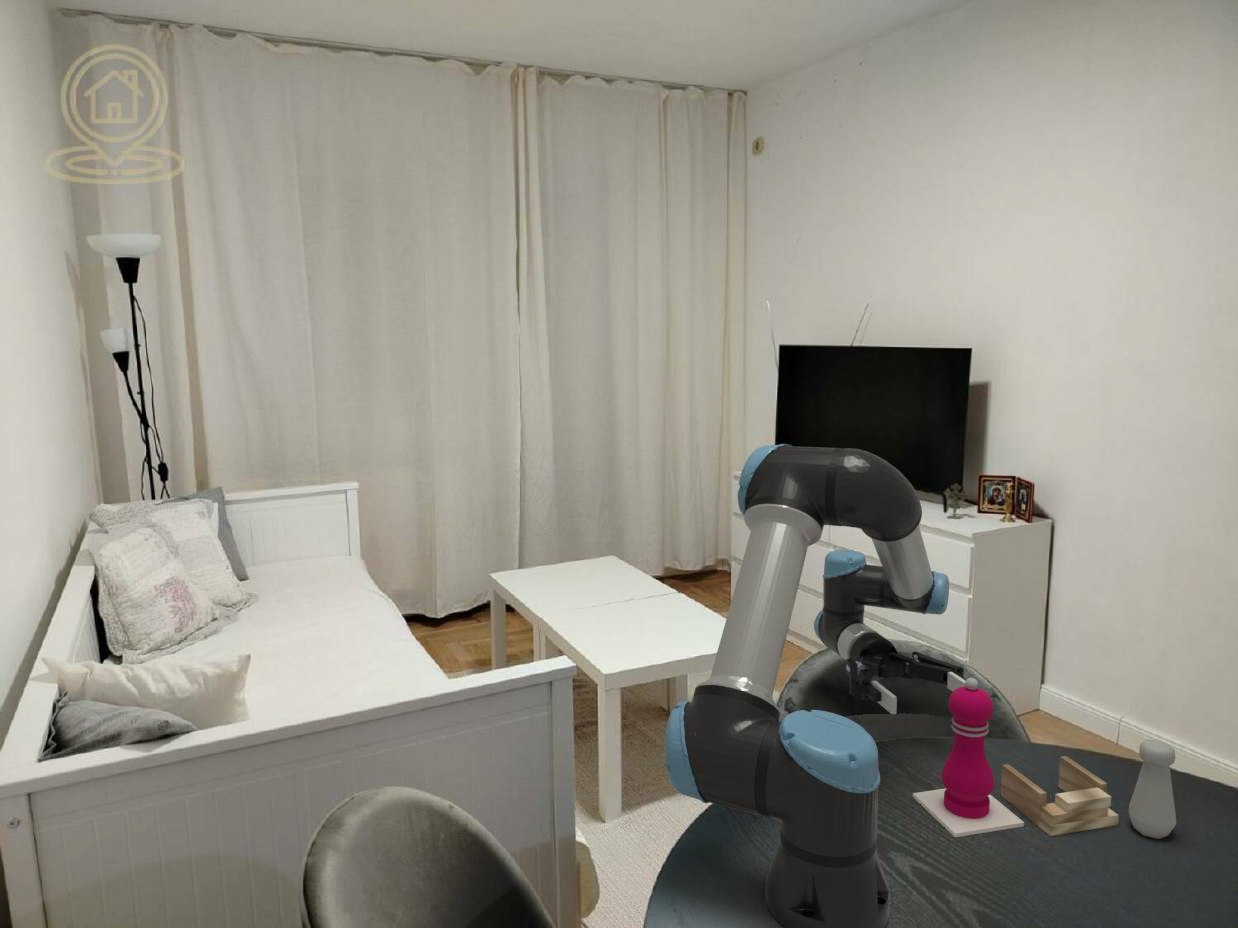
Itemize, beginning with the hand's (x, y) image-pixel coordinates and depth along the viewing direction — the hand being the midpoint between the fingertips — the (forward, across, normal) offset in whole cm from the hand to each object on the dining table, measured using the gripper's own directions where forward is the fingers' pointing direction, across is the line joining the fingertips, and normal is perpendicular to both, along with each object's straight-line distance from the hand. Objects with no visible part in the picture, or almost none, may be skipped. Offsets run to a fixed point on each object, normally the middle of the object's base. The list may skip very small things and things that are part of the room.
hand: (934, 700), depth 137 cm
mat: (+9, 0, -13) cm, 16 cm away
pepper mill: (+9, 0, -13) cm, 16 cm away
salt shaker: (+20, -22, -13) cm, 33 cm away
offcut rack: (+12, -13, -13) cm, 22 cm away
